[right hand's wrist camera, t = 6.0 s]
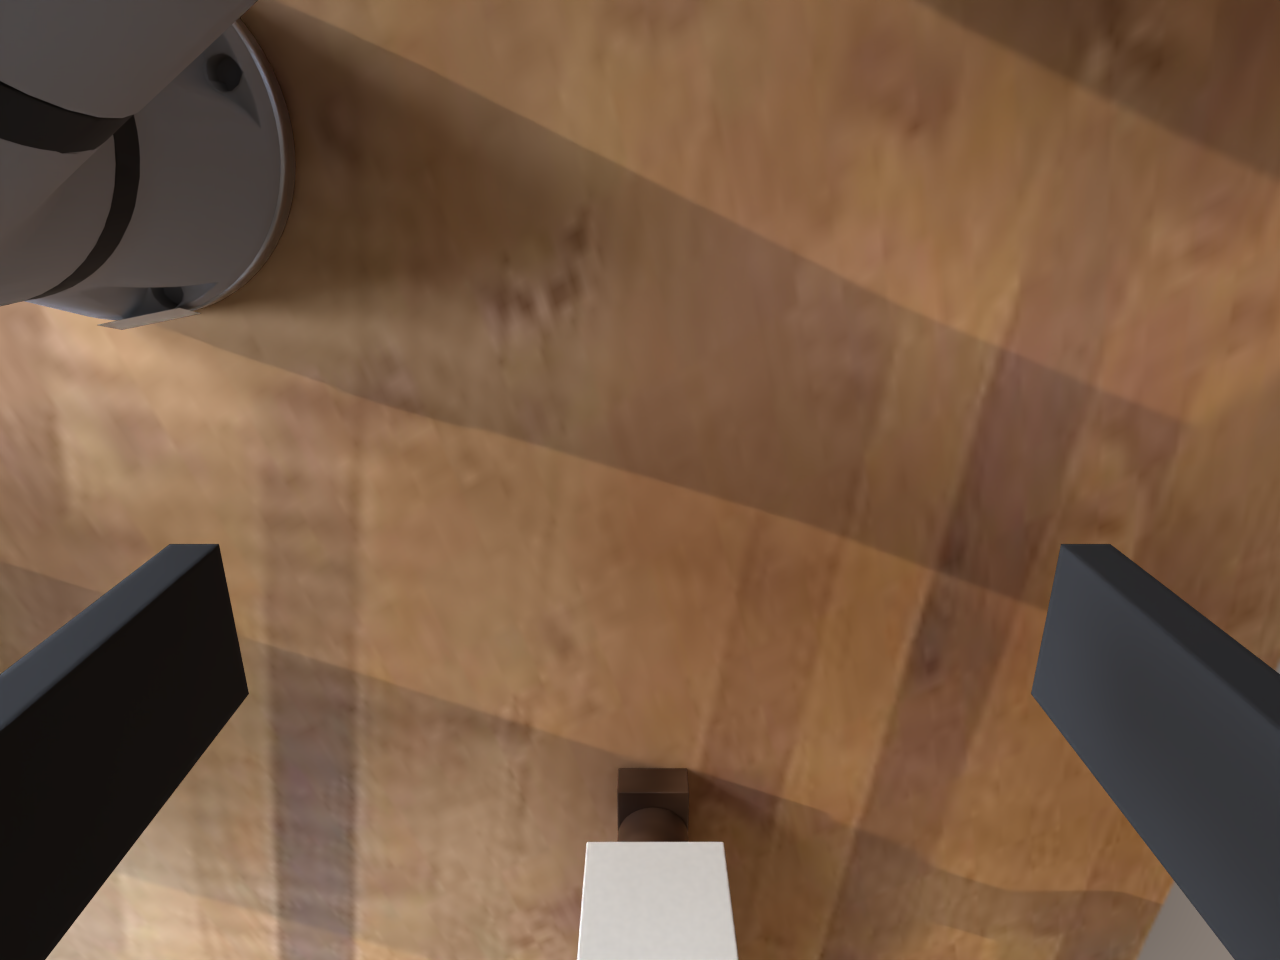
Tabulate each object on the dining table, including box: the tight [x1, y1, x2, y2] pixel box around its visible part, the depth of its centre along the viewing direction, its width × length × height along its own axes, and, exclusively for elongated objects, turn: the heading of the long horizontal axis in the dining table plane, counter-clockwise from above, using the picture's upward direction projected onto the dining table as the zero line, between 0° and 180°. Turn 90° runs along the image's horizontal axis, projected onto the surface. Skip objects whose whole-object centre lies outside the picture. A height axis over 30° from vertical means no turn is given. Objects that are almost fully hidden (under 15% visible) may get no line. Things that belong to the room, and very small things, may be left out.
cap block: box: [577, 842, 739, 960], centre depth 39 cm, size 7×7×7 cm
